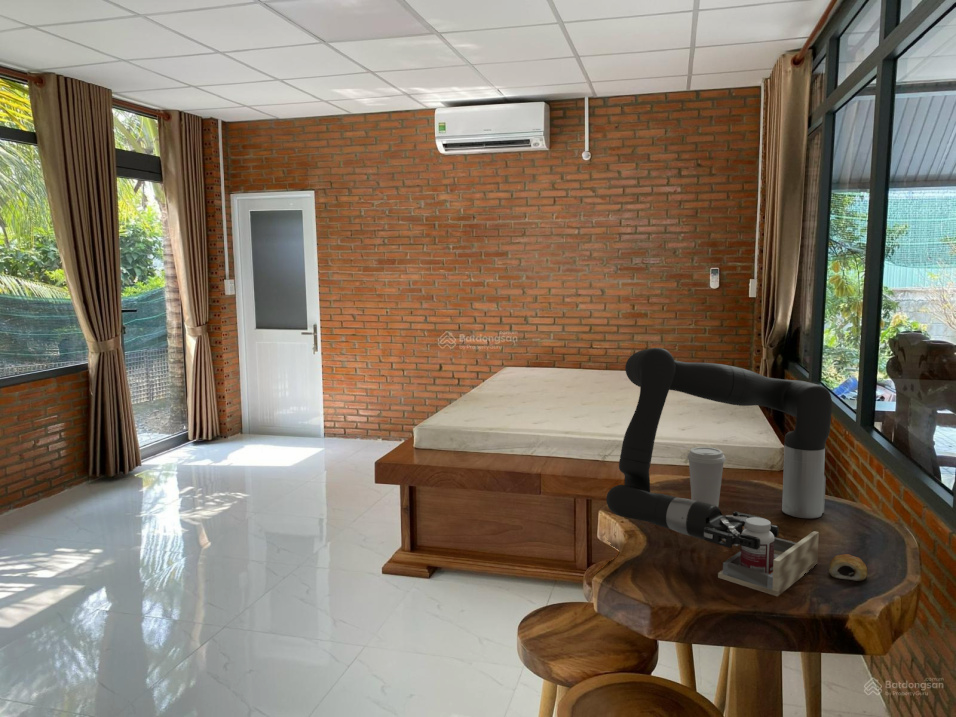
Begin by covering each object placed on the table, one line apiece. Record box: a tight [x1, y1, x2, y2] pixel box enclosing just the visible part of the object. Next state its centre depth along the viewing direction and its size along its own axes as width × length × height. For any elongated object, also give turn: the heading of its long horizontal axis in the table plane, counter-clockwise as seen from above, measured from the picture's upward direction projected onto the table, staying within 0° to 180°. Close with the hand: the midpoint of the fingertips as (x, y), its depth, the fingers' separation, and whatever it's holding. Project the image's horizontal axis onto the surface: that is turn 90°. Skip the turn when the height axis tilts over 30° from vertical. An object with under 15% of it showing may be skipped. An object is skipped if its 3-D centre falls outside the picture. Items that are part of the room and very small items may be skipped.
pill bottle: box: [740, 517, 774, 574], centre depth 141 cm, size 6×6×11 cm
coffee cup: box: [686, 446, 726, 508], centre depth 183 cm, size 10×10×15 cm
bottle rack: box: [717, 530, 820, 598], centre depth 145 cm, size 20×12×7 cm, turn 135°
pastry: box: [828, 553, 868, 582], centre depth 144 cm, size 9×7×4 cm
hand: (768, 538), depth 139 cm, fingers open, 8 cm apart
